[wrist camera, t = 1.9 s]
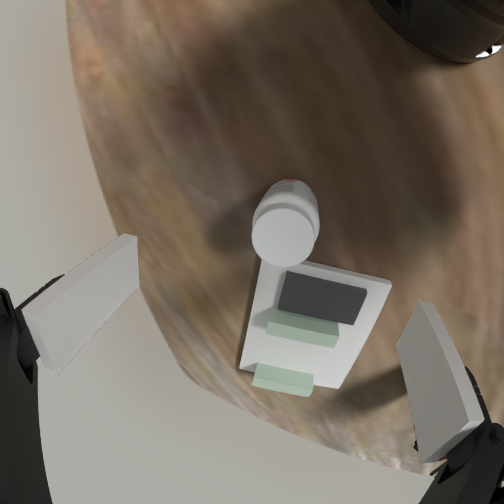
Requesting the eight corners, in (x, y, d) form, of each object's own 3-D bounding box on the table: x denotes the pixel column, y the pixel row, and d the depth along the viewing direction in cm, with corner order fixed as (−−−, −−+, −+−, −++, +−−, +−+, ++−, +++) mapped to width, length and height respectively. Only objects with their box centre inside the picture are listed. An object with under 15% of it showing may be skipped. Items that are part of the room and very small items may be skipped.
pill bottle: (257, 217, 26) (234, 256, 19) (275, 170, 24) (259, 189, 17) (305, 237, 26) (302, 283, 19) (326, 190, 24) (333, 220, 17)
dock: (264, 250, 27) (258, 267, 24) (390, 280, 26) (398, 299, 23) (240, 363, 34) (234, 383, 31) (338, 383, 33) (338, 403, 30)
